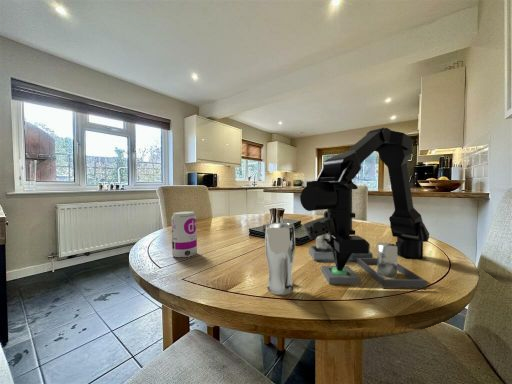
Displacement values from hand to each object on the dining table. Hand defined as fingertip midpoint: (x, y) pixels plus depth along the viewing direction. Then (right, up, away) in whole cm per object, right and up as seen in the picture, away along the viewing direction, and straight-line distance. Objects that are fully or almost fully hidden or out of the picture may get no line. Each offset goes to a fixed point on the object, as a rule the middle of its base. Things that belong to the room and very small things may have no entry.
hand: (339, 270), depth 52 cm
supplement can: (-46, -3, +21) cm, 51 cm away
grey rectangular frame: (+13, -3, +2) cm, 14 cm away
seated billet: (+1, -1, +15) cm, 15 cm away
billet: (+13, -2, +2) cm, 13 cm away
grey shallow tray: (+6, -2, +15) cm, 16 cm away
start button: (0, -2, 0) cm, 2 cm away
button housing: (0, -3, 0) cm, 3 cm away
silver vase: (-15, -3, -3) cm, 16 cm away
